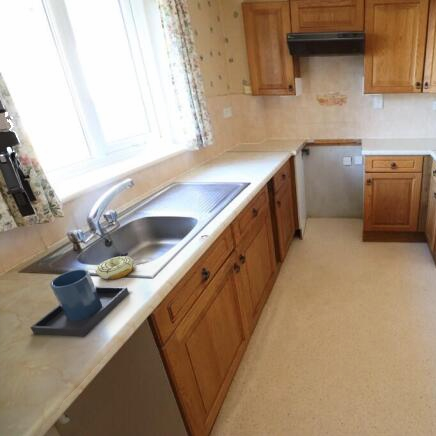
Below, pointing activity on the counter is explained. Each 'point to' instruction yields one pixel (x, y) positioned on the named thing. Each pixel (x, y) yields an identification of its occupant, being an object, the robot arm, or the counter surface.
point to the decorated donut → (115, 267)
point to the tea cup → (76, 294)
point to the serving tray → (62, 326)
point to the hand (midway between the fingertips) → (30, 208)
